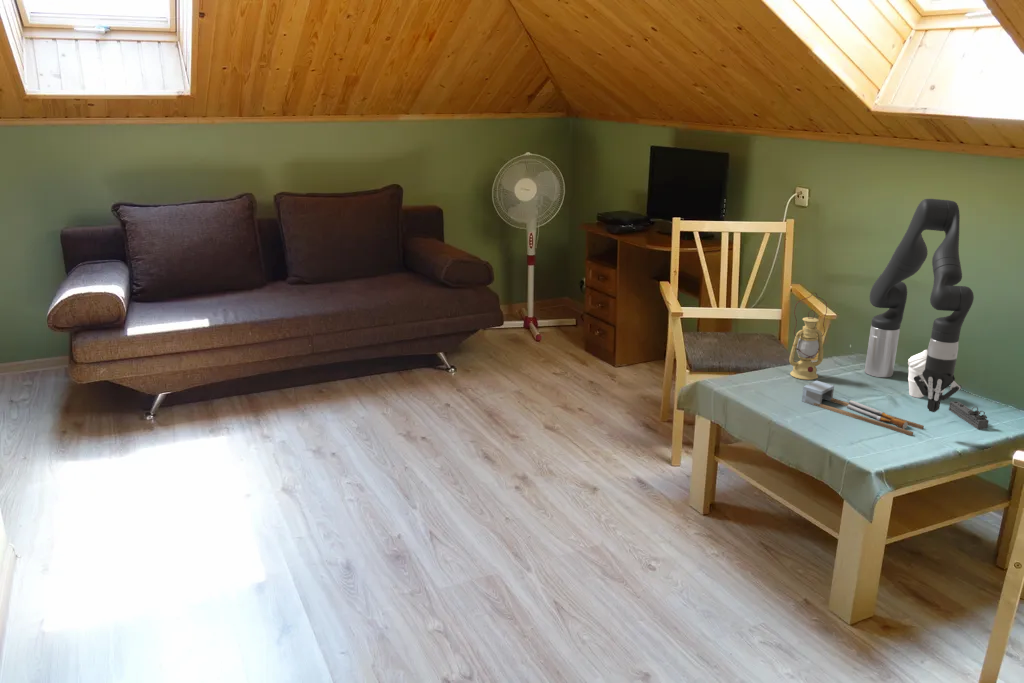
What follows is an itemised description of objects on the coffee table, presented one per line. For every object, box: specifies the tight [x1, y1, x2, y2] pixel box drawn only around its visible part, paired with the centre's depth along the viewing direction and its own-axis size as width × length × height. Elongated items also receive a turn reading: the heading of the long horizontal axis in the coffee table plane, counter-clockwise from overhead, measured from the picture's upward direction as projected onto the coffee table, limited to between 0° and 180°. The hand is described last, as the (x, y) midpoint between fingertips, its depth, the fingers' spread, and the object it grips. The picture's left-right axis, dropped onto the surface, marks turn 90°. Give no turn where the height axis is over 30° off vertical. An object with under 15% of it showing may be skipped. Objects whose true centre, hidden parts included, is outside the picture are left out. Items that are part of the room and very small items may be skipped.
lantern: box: [788, 292, 828, 381], centre depth 281 cm, size 12×10×30 cm
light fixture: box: [948, 400, 989, 430], centre depth 250 cm, size 3×15×6 cm, turn 3°
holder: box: [801, 379, 925, 437], centre depth 253 cm, size 8×35×5 cm, turn 41°
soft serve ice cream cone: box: [907, 349, 928, 399], centre depth 266 cm, size 8×8×16 cm
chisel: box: [846, 399, 909, 430], centre depth 251 cm, size 19×3×3 cm
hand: (932, 411), depth 237 cm, fingers closed
